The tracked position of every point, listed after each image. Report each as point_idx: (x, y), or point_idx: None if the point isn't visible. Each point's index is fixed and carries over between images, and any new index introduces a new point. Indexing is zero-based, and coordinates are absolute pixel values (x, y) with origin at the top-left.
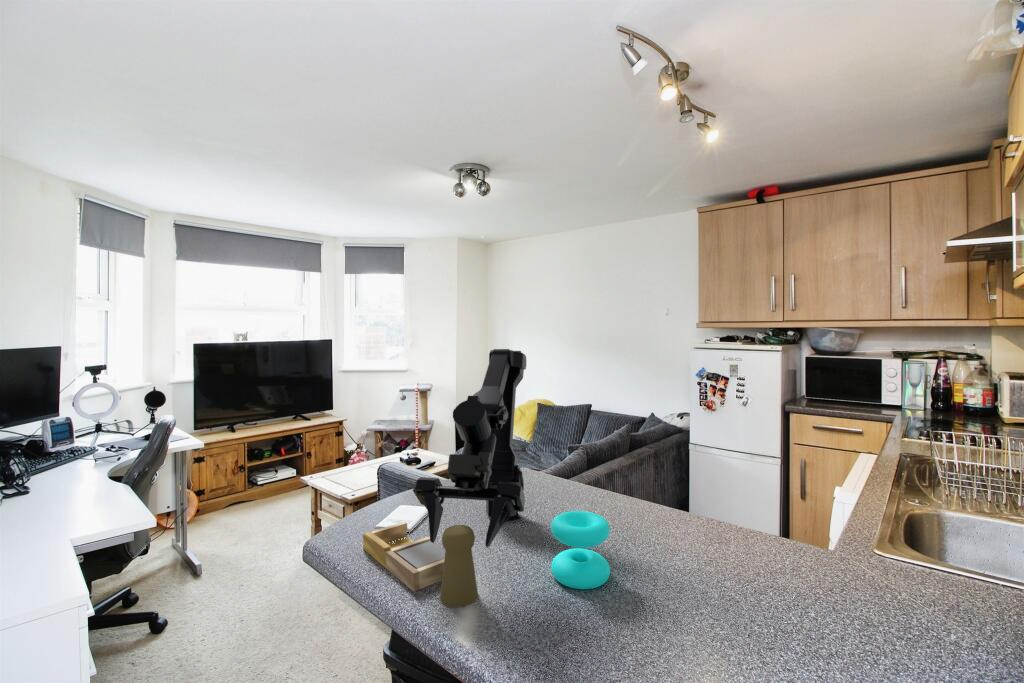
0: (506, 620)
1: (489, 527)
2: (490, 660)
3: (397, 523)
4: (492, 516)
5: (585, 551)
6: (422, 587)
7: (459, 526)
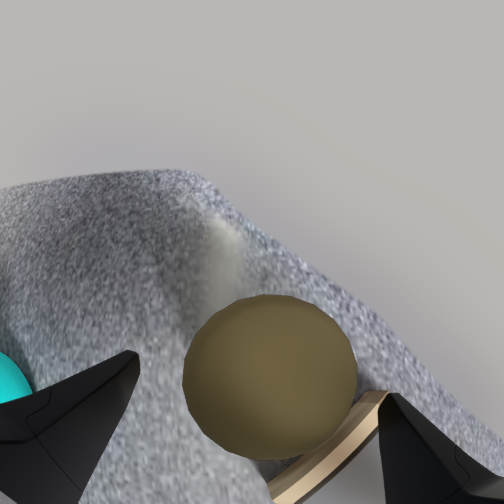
0: (142, 283)
1: (90, 388)
2: (181, 189)
3: None
4: (48, 417)
5: None
6: (351, 408)
7: (273, 399)
